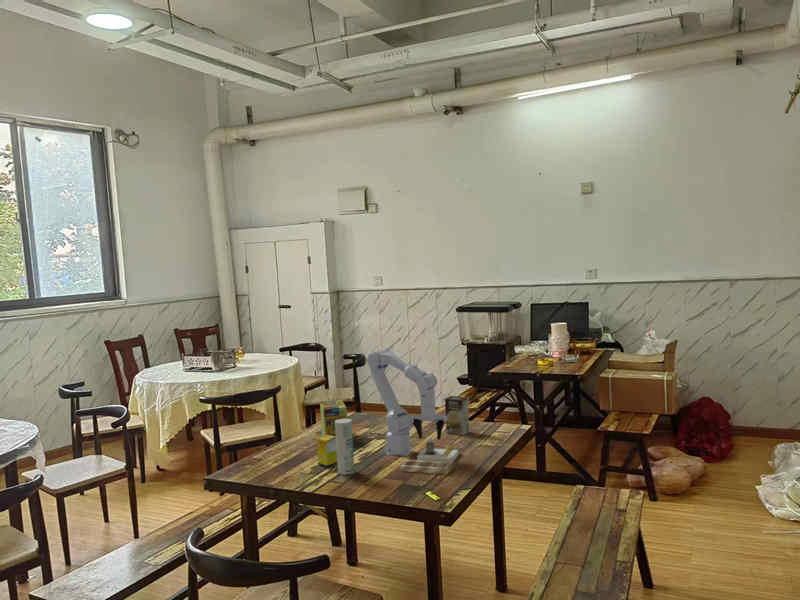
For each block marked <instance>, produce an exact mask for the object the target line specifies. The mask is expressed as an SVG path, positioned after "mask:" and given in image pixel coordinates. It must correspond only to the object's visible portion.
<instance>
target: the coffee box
mask: <svg viewBox="0 0 800 600" xmlns="http://www.w3.org/2000/svg"><path fill="white" fill-rule="evenodd" d="M444 406H445V411H444V413H445V416H447V421H446V422H445V433H446V434H450V433H452V434H451V435H457V434H458V436H465V435H466V434H468V433H469V432H470V425H469V424H470V422H469V397H466V396H456V395H449V396H448V397H446V398H445V399H444Z"/></svg>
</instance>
